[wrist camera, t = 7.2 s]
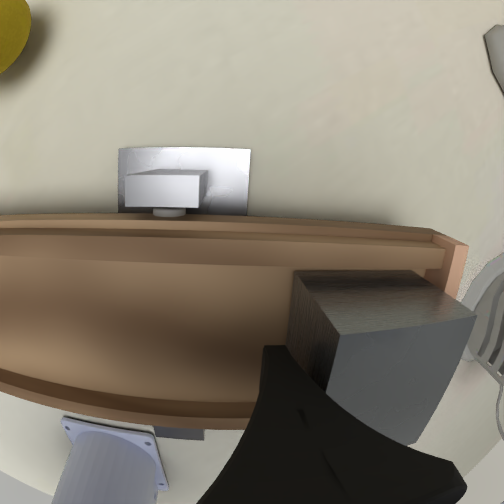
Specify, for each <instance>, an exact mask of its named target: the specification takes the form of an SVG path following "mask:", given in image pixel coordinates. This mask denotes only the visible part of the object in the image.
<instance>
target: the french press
mask: <svg viewBox="0 0 504 504" xmlns="http://www.w3.org/2000/svg"><path fill="white" fill-rule="evenodd" d="M461 304H463V305H464V306H466V307H467V308H469V309H470V310H471V311H473V312H474V313H476V314H477V315H478V316H477V318H476V321H475V324H474V327H473V329H472V332H471V335H470V337H469V340H468V342H467V345H466V347H465V350H464V352H463V354H462V357H461V359H462V360H465V361H472V360H477V361H478V362H479V363H480V364H481V365H482V366H483V367H484V368H485V369H486V370H487V371H488V373H489V374H490V375H491V376H492V377H493V378H494V379H495V380H496V381H497V382H498V383H499V384H500V391H499V395H498V399H497V403H496V420H497V425H498V429H499V432H500V434H501V437H502V439H503V440H504V433H503V431H502V427H501V424H500V421H499V403H500V400H501V396H502V392H503V386H504V253H502V254H501V255H499V256H498V257H496V258H494V259H493V260H491V261H490V262H488V263H487V265H486V266H485V267H484V268H483V270H482V271H481V272H480V273H479V274H478V275H477V277H476V278H475V279H474V280H473V282H472V284H471V285H470V287H469V289H468V291H467V293H466V295H465V297H464V298H463V300H462V302H461ZM488 361H489V362H490V363H491V364H492V366H491V367H490V366H489V365H488V364H487V362H488ZM497 371H499V372H500V373H501V374H502V376H501V377H500V376H499V375H498V374H497Z"/></svg>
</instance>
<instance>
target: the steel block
mask: <svg viewBox="0 0 504 504" xmlns="http://www.w3.org/2000/svg"><path fill="white" fill-rule="evenodd" d="M477 316H478V315H477V314H476V313H474V312H473V311H471V310H470V309H469V308H467V307H466V306H464V305H463V304H461V303H460V302H458V301H457V300H456V299H454V298H453V297H451V296H450V295H448V294H447V293H445V292H444V291H442V290H441V289H439V288H438V287H436V286H435V285H433V284H432V283H430V282H429V281H427V280H426V279H424V278H423V277H421V276H420V275H418V274H417V273H415V272H414V271H412V270H391V271H295V272H294V280H293V289H292V297H291V306H290V314H289V321H288V329H287V337H286V344H285V345H286V347H287V349H288V350H289V352H290V354H291V355H292V357H293V358H294V359H295V360H296V361H297V363H298V364H299V365H300V366H301V367H302V369H303V370H304V371H305V372H306V373H307V374H308V375H309V376H310V377H311V378H312V380H313V381H314V382H315V383H316V384H317V385H318V386H319V387H320V388H321V389H322V390H323V391H324V392H325V393H326V394H327V395H328V396H330V397H331V398H332V399H333V400H334V401H335V402H336V403H337V404H339V405H340V406H341V407H342V408H343V409H345V410H346V411H347V412H349V413H350V414H351V415H353V416H354V417H356V418H357V419H358V420H360V421H361V422H363V423H364V424H366V425H367V426H369V427H371V428H372V429H374V430H376V431H378V432H379V433H381V434H383V435H385V436H386V437H388V438H390V439H392V440H394V441H396V442H398V443H401V444H403V445H405V446H407V445H410V444H413V443H416V441H417V440H418V438H419V437H420V435H421V433H422V432H423V430H424V429H425V427H426V425H427V424H428V422H429V420H430V418H431V417H432V415H433V413H434V411H435V410H436V408H437V406H438V404H439V402H440V400H441V398H442V397H443V395H444V393H445V391H446V389H447V387H448V385H449V383H450V381H451V379H452V377H453V374H454V372H455V370H456V368H457V366H458V364H459V361H460V359H461V357H462V354H463V352H464V350H465V347H466V345H467V342H468V340H469V337H470V335H471V332H472V329H473V327H474V324H475V321H476V318H477Z"/></svg>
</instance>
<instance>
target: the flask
mask: <svg viewBox="0 0 504 504" xmlns="http://www.w3.org/2000/svg"><path fill="white" fill-rule="evenodd" d="M485 39H486V43H487V47H488V51H489V55H490V60H491V65H492V70H493V73H494V74H495V76H496V78H497V80H498V82H499V84H500V86H501V88H502V90H503V92H504V25H496V26H495V27H494V28H492V29H491V30H490V31H489V32H488V33H486V34H485Z"/></svg>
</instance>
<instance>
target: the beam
mask: <svg viewBox="0 0 504 504" xmlns="http://www.w3.org/2000/svg"><path fill="white" fill-rule="evenodd" d="M468 249H469V246H468V245H466V244H464V243H462V242H459V241H457V240H455V239H453V238H451V237H449V236H446V235H444V234H442V233H440V232H437V231H435V230H433V229H430V228H419V227H408V226H396V225H384V224H372V223H358V222H344V221H329V220H313V219H296V218H277V217H255V216H230V215H198V214H186V208H185V207H155V208H153V214H149V213H67V214H21V215H0V391H1V392H4V393H7V394H10V395H13V396H16V397H19V398H22V399H25V400H28V401H32V402H35V403H38V404H42V405H45V406H49V407H53V408H57V409H61V410H65V411H69V412H73V413H78V414H83V415H87V416H92V417H98V418H103V419H109V420H115V421H121V422H128V423H135V424H143V425H152V426H162V427H174V428H189V429H214V430H245V429H246V427H247V425H248V422H249V420H250V418H251V415H252V413H253V410H254V407H255V405H256V401H257V398H258V395H259V384H260V374H261V364H262V354H263V348H264V345H285V344H286V337H287V329H288V321H289V314H290V306H291V297H292V289H293V280H294V272H295V271H391V270H412V271H414V272H415V273H417V274H418V275H420V276H421V277H423V278H424V279H426V280H427V281H429V282H430V283H432V284H433V285H435V286H436V287H438V288H439V289H441V290H442V291H444V292H445V293H447V294H448V295H450V296H451V297H453V298H454V299H456V296H457V292H458V289H459V285H460V282H461V278H462V274H463V270H464V266H465V262H466V258H467V253H468Z"/></svg>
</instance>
